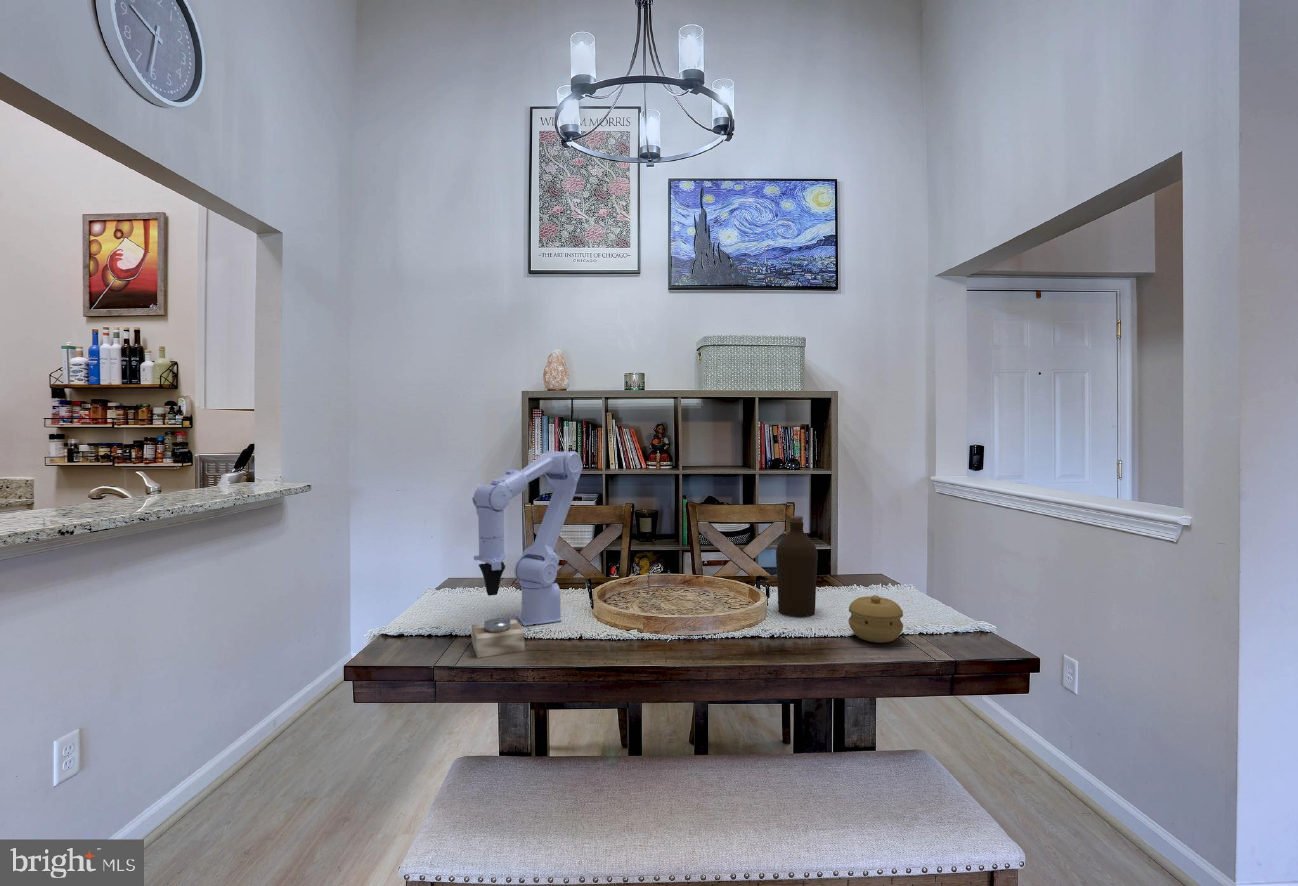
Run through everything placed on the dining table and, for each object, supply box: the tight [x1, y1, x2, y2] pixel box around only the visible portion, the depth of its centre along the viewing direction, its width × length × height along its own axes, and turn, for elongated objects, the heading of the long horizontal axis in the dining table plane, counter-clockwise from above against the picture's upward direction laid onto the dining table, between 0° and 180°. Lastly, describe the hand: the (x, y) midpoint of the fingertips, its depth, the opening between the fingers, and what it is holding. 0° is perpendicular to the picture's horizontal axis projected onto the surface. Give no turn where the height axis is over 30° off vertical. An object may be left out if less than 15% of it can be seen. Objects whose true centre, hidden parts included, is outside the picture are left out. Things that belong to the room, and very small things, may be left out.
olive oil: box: [775, 515, 819, 618], centre depth 161 cm, size 11×11×25 cm
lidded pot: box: [847, 594, 904, 644], centre depth 140 cm, size 12×12×10 cm
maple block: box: [471, 618, 526, 658], centre depth 137 cm, size 10×10×4 cm
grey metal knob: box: [483, 617, 511, 633], centre depth 137 cm, size 6×6×5 cm
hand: (492, 594), depth 144 cm, fingers closed
